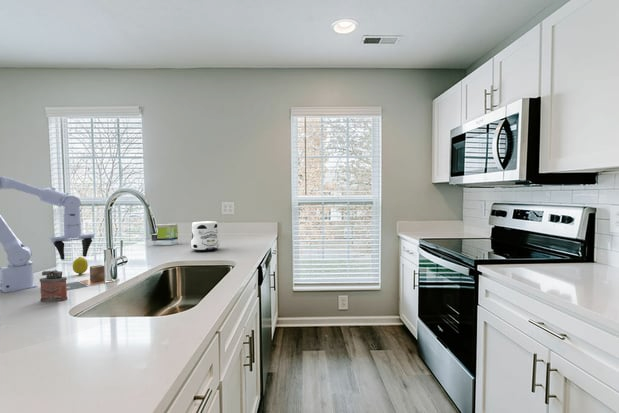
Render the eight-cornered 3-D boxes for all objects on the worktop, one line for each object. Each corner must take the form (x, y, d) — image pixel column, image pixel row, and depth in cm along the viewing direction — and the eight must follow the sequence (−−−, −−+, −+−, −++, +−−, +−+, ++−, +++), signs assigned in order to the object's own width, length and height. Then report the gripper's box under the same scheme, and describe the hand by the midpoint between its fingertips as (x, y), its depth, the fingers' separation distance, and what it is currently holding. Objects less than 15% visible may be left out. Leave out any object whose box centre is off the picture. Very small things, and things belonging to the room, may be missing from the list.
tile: (89, 286, 124) (89, 285, 124) (79, 281, 131) (79, 281, 131) (115, 281, 131) (115, 280, 131) (104, 277, 138) (104, 276, 138)
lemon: (85, 272, 147) (85, 255, 147) (89, 274, 144) (89, 256, 144) (71, 275, 143) (70, 257, 143) (75, 277, 140) (74, 258, 139)
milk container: (211, 253, 196) (210, 223, 195) (185, 252, 199) (184, 223, 199) (224, 248, 213) (223, 221, 212) (200, 248, 216) (199, 221, 216)
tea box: (178, 243, 240) (177, 223, 239) (171, 245, 230) (170, 224, 229) (159, 243, 241) (158, 223, 241) (151, 245, 231) (150, 225, 231)
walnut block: (93, 282, 128) (93, 267, 128) (90, 281, 131) (89, 266, 131) (105, 280, 131) (104, 265, 131) (101, 279, 134) (100, 264, 134)
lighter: (70, 298, 109) (69, 269, 109) (62, 301, 106) (61, 271, 105) (45, 299, 109) (44, 269, 108) (37, 302, 105) (36, 272, 105)
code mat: (49, 294, 114) (49, 293, 114) (40, 288, 122) (40, 288, 122) (88, 286, 124) (88, 286, 124) (78, 281, 131) (78, 281, 131)
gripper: (53, 226, 125) (54, 261, 125) (96, 224, 136) (97, 256, 136) (48, 226, 129) (49, 259, 129) (90, 223, 140) (91, 254, 141)
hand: (73, 257), depth 133 cm, fingers open, 7 cm apart
